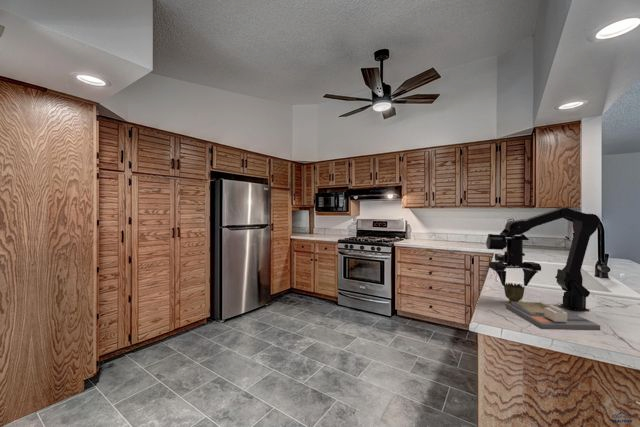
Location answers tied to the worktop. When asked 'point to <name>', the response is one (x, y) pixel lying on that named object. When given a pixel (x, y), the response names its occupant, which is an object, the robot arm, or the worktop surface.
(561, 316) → the breaker switch
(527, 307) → the lockout tray
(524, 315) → the grey flat square slab
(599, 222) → the robot arm
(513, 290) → the cup
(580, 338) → the worktop surface
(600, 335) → the worktop surface
